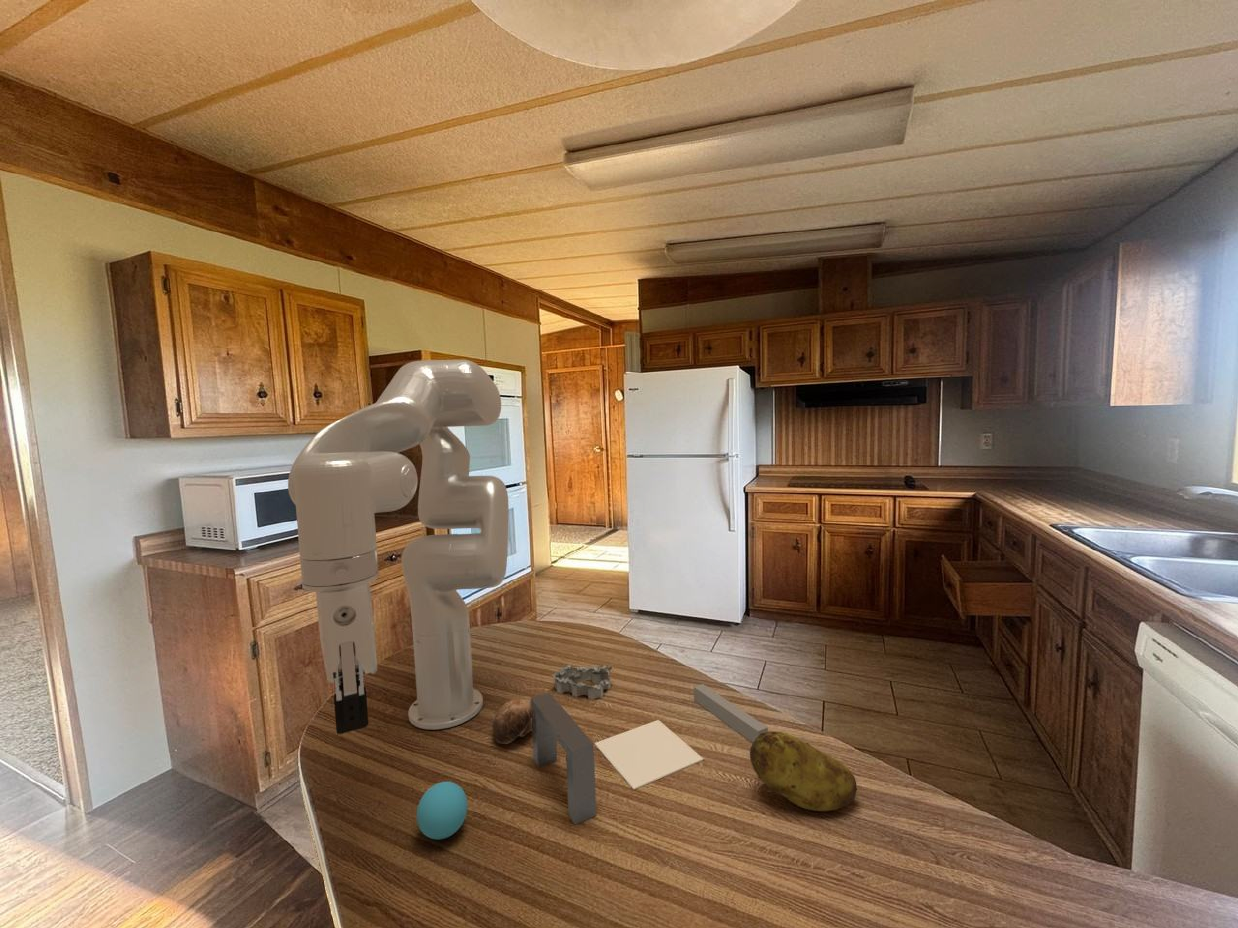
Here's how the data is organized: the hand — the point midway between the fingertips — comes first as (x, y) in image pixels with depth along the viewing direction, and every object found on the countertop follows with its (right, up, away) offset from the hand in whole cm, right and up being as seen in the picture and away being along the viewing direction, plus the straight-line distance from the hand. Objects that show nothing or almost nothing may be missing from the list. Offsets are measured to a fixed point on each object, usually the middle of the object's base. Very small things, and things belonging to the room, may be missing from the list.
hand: (352, 726), depth 59 cm
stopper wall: (+49, -13, +28) cm, 58 cm away
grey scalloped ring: (+23, -13, +40) cm, 48 cm away
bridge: (+22, -15, +14) cm, 30 cm away
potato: (+54, -15, +10) cm, 57 cm away
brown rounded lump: (+13, -15, +26) cm, 32 cm away
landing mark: (+35, -14, +20) cm, 43 cm away
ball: (+8, -13, +6) cm, 17 cm away
